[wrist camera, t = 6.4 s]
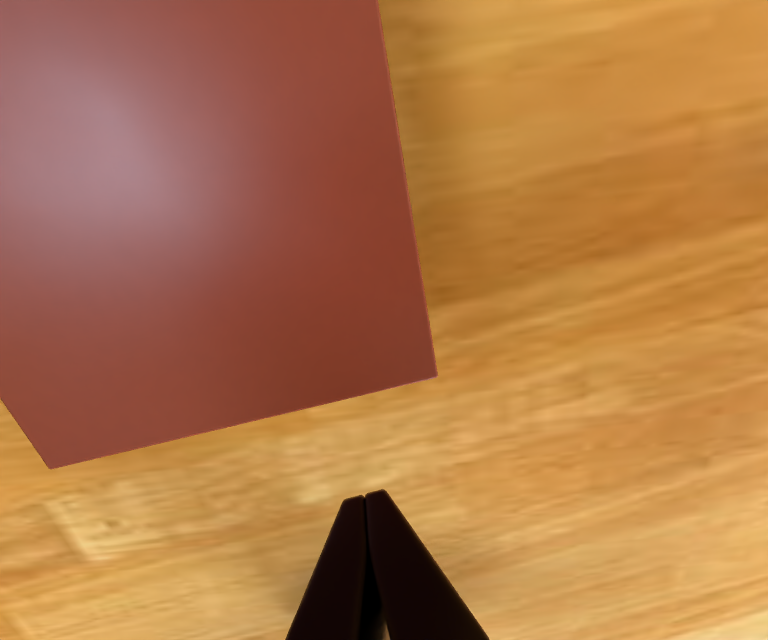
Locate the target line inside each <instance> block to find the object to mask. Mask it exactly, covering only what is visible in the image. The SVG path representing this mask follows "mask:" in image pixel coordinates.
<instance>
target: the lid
mask: <svg viewBox="0 0 768 640" xmlns="http://www.w3.org/2000/svg"><path fill="white" fill-rule="evenodd" d="M437 376H438V373H437V367H436V361H435V354H434V348H433V342H432V336H431V329H430V323H429V317H428V310H427V304H426V298H425V292H424V285H423V279H422V273H421V267H420V260H419V254H418V248H417V242H416V235H415V229H414V223H413V217H412V210H411V204H410V198H409V192H408V185H407V179H406V173H405V167H404V160H403V154H402V148H401V142H400V135H399V129H398V123H397V117H396V110H395V104H394V98H393V92H392V85H391V79H390V73H389V67H388V60H387V54H386V48H385V42H384V35H383V29H382V23H381V16H380V10H379V4H378V0H0V399H1V400H2V401H3V403H4V404H5V406H6V407H7V409H8V410H9V412H10V413H11V414H12V416H13V417H14V419H15V420H16V422H17V423H18V425H19V426H20V427H21V429H22V430H23V432H24V433H25V435H26V436H27V437H28V439H29V440H30V442H31V443H32V445H33V446H34V448H35V449H36V450H37V452H38V453H39V455H40V456H41V458H42V459H43V461H44V462H45V463H46V465H47V466H48V468H49V469H54V468H59V467H63V466H67V465H71V464H75V463H80V462H84V461H88V460H92V459H96V458H101V457H105V456H109V455H113V454H117V453H122V452H126V451H130V450H134V449H138V448H143V447H147V446H151V445H155V444H159V443H164V442H168V441H172V440H176V439H180V438H185V437H189V436H193V435H197V434H201V433H206V432H210V431H214V430H218V429H222V428H227V427H231V426H235V425H239V424H243V423H248V422H252V421H256V420H260V419H264V418H269V417H273V416H277V415H281V414H285V413H290V412H294V411H298V410H302V409H306V408H311V407H315V406H319V405H323V404H327V403H332V402H336V401H340V400H344V399H348V398H353V397H357V396H361V395H365V394H369V393H374V392H378V391H382V390H386V389H390V388H395V387H399V386H403V385H407V384H411V383H416V382H420V381H424V380H428V379H432V378H436V377H437Z"/></svg>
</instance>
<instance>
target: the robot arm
mask: <svg viewBox="0 0 768 640" xmlns="http://www.w3.org/2000/svg"><path fill="white" fill-rule="evenodd" d="M285 640H489V637H488V636H487V634H486V633H485V632H484V630H483V629H482V627H481V626H480V624H479V623H478V622H477V620H476V619H475V617H474V616H473V614H472V613H471V612H470V610H469V609H468V607H467V606H466V604H465V603H464V602H463V600H462V599H461V597H460V596H459V594H458V593H457V592H456V590H455V589H454V587H453V586H452V584H451V583H450V582H449V580H448V579H447V577H446V576H445V574H444V573H443V572H442V570H441V569H440V567H439V566H438V564H437V563H436V562H435V560H434V559H433V557H432V556H431V554H430V553H429V551H428V550H427V549H426V547H425V546H424V544H423V543H422V541H421V540H420V539H419V537H418V536H417V534H416V533H415V531H414V530H413V529H412V527H411V526H410V524H409V523H408V521H407V520H406V519H405V517H404V516H403V514H402V513H401V511H400V510H399V509H398V507H397V506H396V504H395V503H394V501H393V500H392V499H391V497H390V496H389V494H388V493H387V491H385V490H384V489H381V490H378V491H374V492H370V493H367V494H366V495H365V497H364V496H363V495H359V496H355V497H351V498H347V499H345V500H344V501H343V502H342V504H341V507H340V509H339V512H338V514H337V516H336V519H335V521H334V524H333V526H332V528H331V531H330V533H329V536H328V538H327V540H326V543H325V545H324V548H323V550H322V552H321V555H320V557H319V560H318V562H317V564H316V567H315V569H314V572H313V574H312V577H311V579H310V581H309V584H308V586H307V589H306V591H305V593H304V596H303V598H302V601H301V603H300V605H299V608H298V610H297V613H296V615H295V617H294V620H293V622H292V625H291V627H290V629H289V632H288V634H287V637H286V639H285Z"/></svg>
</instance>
